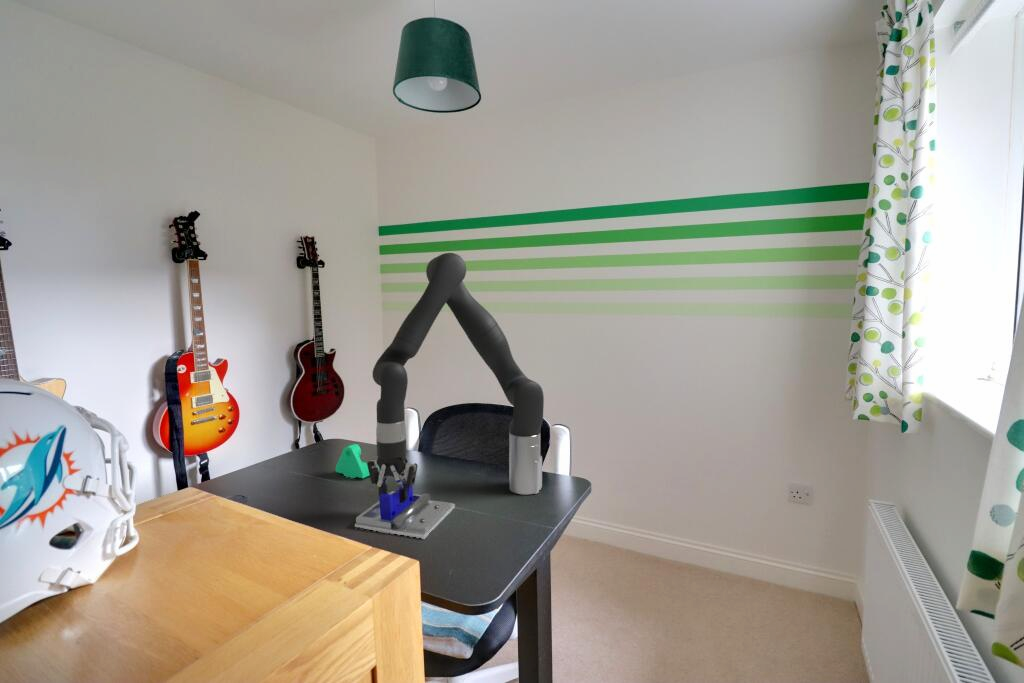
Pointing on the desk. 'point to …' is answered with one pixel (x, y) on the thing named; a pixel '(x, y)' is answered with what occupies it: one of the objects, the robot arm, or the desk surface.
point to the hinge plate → (403, 528)
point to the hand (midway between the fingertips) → (393, 500)
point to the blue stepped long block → (393, 504)
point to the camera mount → (352, 463)
